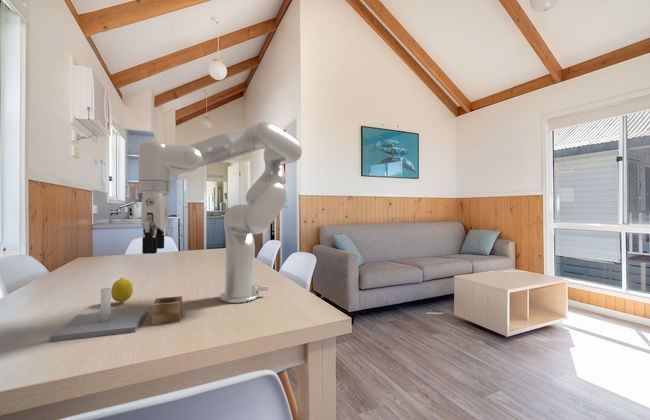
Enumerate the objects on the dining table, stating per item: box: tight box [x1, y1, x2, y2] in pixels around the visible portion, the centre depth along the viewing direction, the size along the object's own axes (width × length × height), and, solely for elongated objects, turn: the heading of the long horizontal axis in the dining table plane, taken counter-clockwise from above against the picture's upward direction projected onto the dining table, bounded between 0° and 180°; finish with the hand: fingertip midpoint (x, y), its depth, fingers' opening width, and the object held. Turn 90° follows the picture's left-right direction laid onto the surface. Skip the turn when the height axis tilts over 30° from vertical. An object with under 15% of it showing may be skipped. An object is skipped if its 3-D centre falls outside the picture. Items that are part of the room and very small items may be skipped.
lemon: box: [111, 277, 134, 304], centre depth 91 cm, size 6×6×8 cm
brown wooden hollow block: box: [151, 295, 183, 326], centre depth 79 cm, size 6×6×5 cm
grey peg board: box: [50, 287, 148, 342], centre depth 74 cm, size 16×14×9 cm
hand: (153, 250), depth 80 cm, fingers open, 9 cm apart
